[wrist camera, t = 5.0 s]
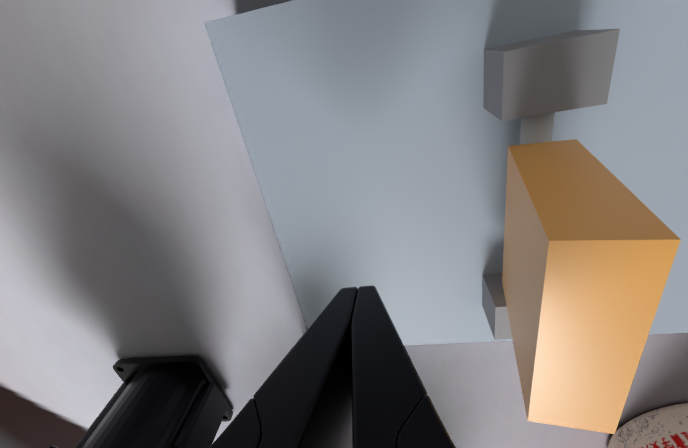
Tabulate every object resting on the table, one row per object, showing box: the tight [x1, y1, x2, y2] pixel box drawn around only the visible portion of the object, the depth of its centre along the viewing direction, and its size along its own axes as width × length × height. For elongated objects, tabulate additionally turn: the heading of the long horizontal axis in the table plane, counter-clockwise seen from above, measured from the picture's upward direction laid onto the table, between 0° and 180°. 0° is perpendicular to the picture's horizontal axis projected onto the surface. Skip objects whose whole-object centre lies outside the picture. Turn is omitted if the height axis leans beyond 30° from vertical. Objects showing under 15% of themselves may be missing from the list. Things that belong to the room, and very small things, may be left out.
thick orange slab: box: [502, 139, 681, 434], centre depth 8 cm, size 2×5×5 cm, turn 11°
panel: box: [205, 0, 688, 346], centre depth 12 cm, size 18×14×4 cm
